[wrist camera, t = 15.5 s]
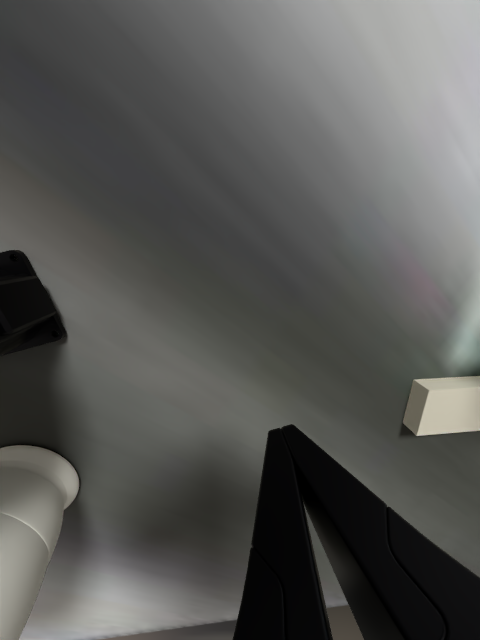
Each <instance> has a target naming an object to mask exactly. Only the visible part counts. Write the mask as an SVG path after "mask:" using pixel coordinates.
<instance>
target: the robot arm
mask: <svg viewBox="0 0 480 640" xmlns="http://www.w3.org/2000/svg"><path fill="white" fill-rule="evenodd" d="M15 255H16V256H17V257H18V261H16V260H15V258H14V256H15ZM55 331H57V332H58V333H59V335H57V334H55ZM65 335H66V332H65V329H64V327H63V325H62V323H61V322H60V320H59V318H58V316H57V314H56V310H55V308H54V306H53V304H52V302H51V301H50V299H49V297H48V295H47V293H46V291H45V289H44V287H43V285H42V283H41V282H40V280H39V278H37V276H36V274H35V272H34V270H33V268H32V266H31V265H30V263H29V261H28V259H27V257H26V255H25V254H24V253H23V252H21V251H19V250H9V251H5V252H2V253H0V356H2V355H5V354H9V353H13V352H16V351H20V350H24V349H27V348H31V347H35V346H38V345H42V344H46V343H49V342H53V341H57V340H60V339H61V338H63V337H64V336H65ZM302 499H303V500H302ZM303 502H304V504H303ZM304 505H305V507H306V510H307V512H308V514H309V517H310V519H311V521H312V523H313V526H314V528H315V530H316V532H317V535H318V537H319V539H320V541H321V544H322V546H323V548H324V550H325V553H326V555H327V557H328V559H329V562H330V564H331V566H332V568H333V571H334V573H335V575H336V577H337V580H338V582H339V584H340V586H341V589H342V591H343V593H344V595H345V598H346V600H347V602H348V604H349V607H350V609H351V611H352V613H353V616H354V618H355V620H356V622H357V625H358V627H359V629H360V631H361V634H362V636H363V638H364V640H480V577H478V576H477V575H476V574H474V573H473V572H471V571H470V570H469V569H467V568H466V567H465V566H463V565H462V564H460V563H459V562H458V561H457V560H455V559H454V558H453V557H451V556H450V555H449V554H447V553H446V552H445V551H443V550H442V549H441V548H439V547H438V546H437V545H435V544H434V543H433V542H431V541H430V540H429V539H428V538H426V537H425V536H424V535H423V534H421V533H420V532H419V531H418V530H417V529H415V528H414V527H413V526H412V525H410V524H409V523H408V522H407V521H406V520H404V519H403V518H402V517H401V516H400V515H399V514H397V513H396V512H395V511H394V510H393V509H392V508H390V507H387V505H386V503H384V502H383V501H382V500H381V499H380V498H379V497H377V496H376V495H375V494H374V493H373V492H371V491H370V490H369V489H368V488H367V487H366V486H364V485H363V484H362V483H361V482H360V481H359V480H357V479H356V478H355V477H354V476H353V475H352V474H350V473H349V472H348V471H347V470H346V469H345V468H343V467H342V466H341V465H340V464H339V463H338V462H336V461H335V460H334V459H333V458H332V457H331V456H329V455H328V454H327V453H326V452H325V451H324V450H322V449H321V448H320V447H319V446H318V445H317V444H315V443H314V442H313V441H312V440H311V439H310V438H308V437H307V436H306V435H305V434H304V433H303V432H301V431H300V430H299V429H298V428H297V427H296V426H294V425H292V424H291V425H287V426H284V427H282V428H281V429H280V428H277V429H273V430H270V431H269V432H268V437H267V444H266V451H265V457H264V464H263V471H262V477H261V484H260V490H259V497H258V504H257V510H256V517H255V523H254V530H253V537H252V543H251V545H252V548H251V549H250V555H249V562H248V568H247V574H246V580H245V585H244V591H243V596H242V601H241V606H240V610H239V614H238V619H237V624H236V628H235V632H234V637H233V640H333V637H332V632H331V628H330V623H329V618H328V614H327V609H326V605H325V600H324V595H323V591H322V586H321V582H320V577H319V572H318V568H317V563H316V559H315V554H314V549H313V545H312V540H311V536H310V531H309V526H308V522H307V517H306V513H305V508H304Z"/></svg>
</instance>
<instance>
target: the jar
mask: <svg viewBox="0 0 480 640" xmlns="http://www.w3.org/2000/svg"><path fill="white" fill-rule="evenodd" d="M78 490H79V478H78V475H77V472H76V471H75V469H74V467H73V466H72V465H71V464H70V463H69V462H68V461H67V460H66V459H65V458H63V457H62V456H60V455H59V454H57V453H55V452H53V451H50V450H48V449H44V448H41V447H36V446H29V445H15V446H8V447H3V448H0V640H18V639H19V637H20V635H21V633H22V631H23V628H24V626H25V624H26V622H27V620H28V617H29V615H30V613H31V610H32V608H33V605H34V603H35V600H36V598H37V595H38V593H39V590H40V587H41V584H42V581H43V579H44V576H45V572H46V569H47V566H48V564H49V562H50V560H51V557H52V555H53V552H54V550H55V547H56V544H57V541H58V538H59V535H60V531H61V527H62V521H63V513H64V510H65V509H66V508H67V507H68V506H69V505H70V504H71V503H72V502H73V500H74V499H75V497H76V495H77V493H78Z"/></svg>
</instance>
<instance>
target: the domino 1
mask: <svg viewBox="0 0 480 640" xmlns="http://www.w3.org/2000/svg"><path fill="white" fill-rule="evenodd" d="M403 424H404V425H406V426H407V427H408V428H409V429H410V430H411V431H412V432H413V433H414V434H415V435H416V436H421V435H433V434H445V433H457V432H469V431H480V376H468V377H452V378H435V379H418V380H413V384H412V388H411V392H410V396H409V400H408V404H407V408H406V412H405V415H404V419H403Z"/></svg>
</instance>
